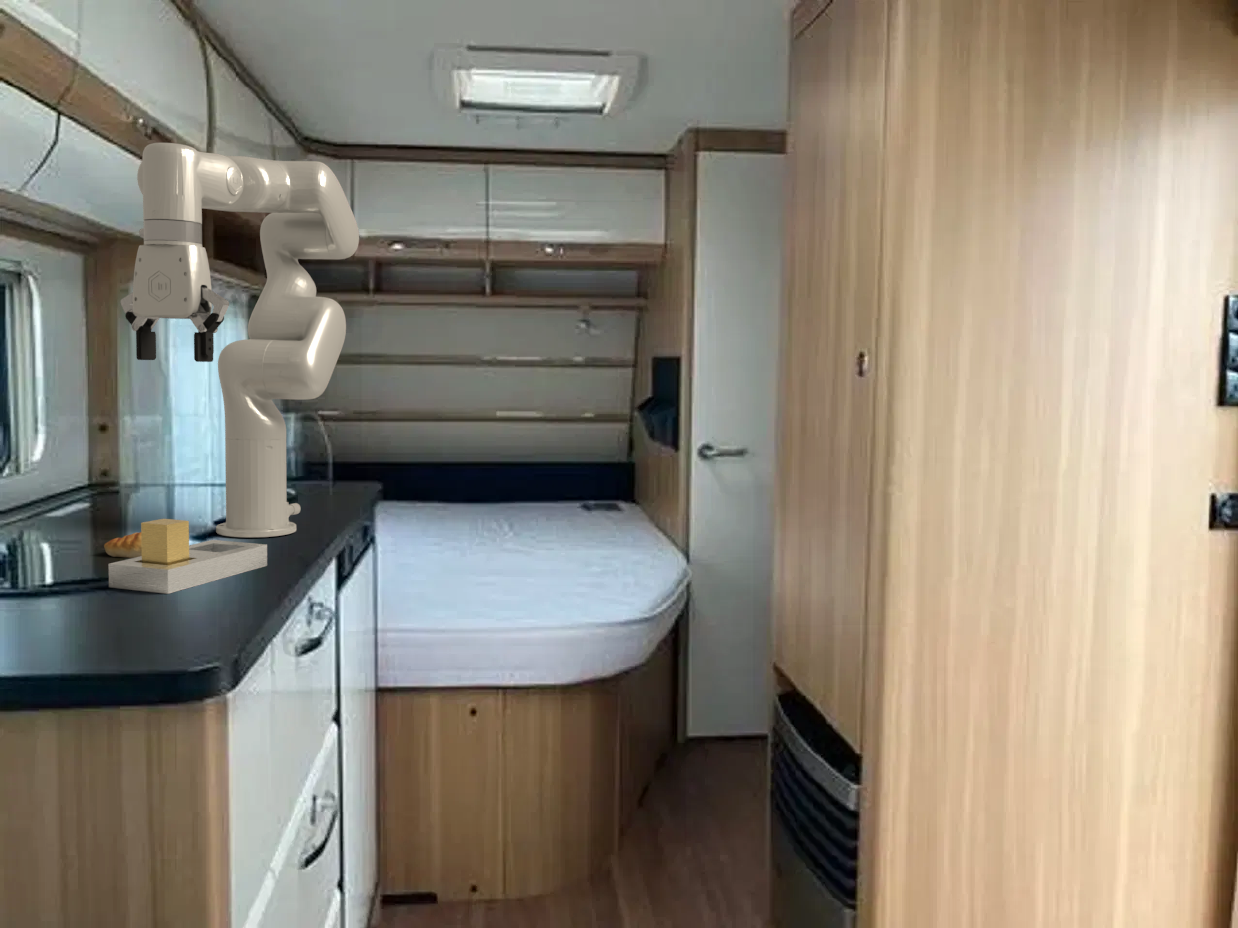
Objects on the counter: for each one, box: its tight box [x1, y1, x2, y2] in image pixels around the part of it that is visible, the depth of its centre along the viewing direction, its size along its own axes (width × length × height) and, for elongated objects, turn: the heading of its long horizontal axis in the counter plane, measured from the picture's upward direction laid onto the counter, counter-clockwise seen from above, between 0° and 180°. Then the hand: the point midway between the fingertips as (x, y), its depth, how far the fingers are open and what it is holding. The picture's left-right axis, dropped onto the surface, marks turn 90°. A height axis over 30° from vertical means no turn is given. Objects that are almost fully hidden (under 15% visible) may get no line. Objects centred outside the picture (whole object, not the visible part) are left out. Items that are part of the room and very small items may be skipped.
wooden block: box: [140, 518, 190, 565], centre depth 142 cm, size 4×4×8 cm
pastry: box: [103, 531, 142, 559], centre depth 161 cm, size 9×7×4 cm
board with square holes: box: [108, 539, 268, 595], centre depth 147 cm, size 20×9×3 cm, turn 162°
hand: (174, 360), depth 155 cm, fingers open, 9 cm apart
